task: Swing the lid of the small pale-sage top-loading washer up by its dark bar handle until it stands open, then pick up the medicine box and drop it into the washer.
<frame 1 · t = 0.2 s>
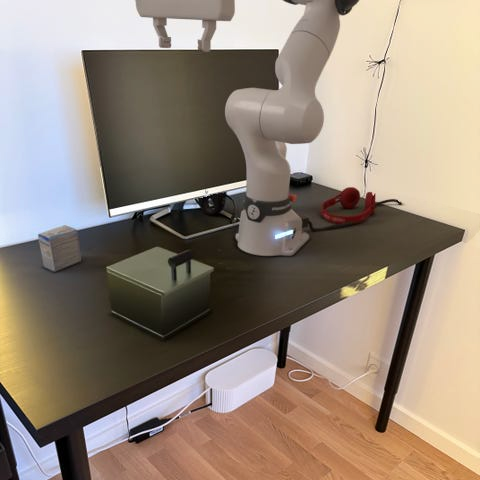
hand: (184, 49, 87), 48 cm above the table, tool pointing down, fingers open, 8 cm apart
water bottle: (269, 212, 158), on the table
headphones: (347, 215, 158), on the table
controller: (209, 214, 154), on the table
medicine box: (63, 265, 118), on the table
washer lid: (160, 258, 94), point 13 cm above the table, hinge at 0.0°
washer: (161, 313, 100), on the table
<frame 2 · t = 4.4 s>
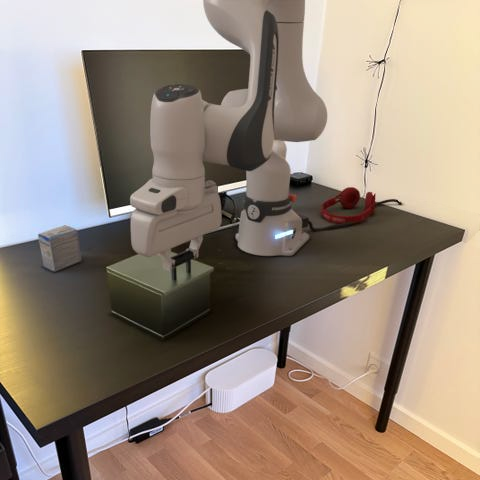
hand: (180, 263, 90), 13 cm above the table, tool pointing down, fingers closed on washer lid, 5 cm apart
washer lid: (160, 258, 94), point 13 cm above the table, hinge at 0.1°, touching gripper
everything else where it was.
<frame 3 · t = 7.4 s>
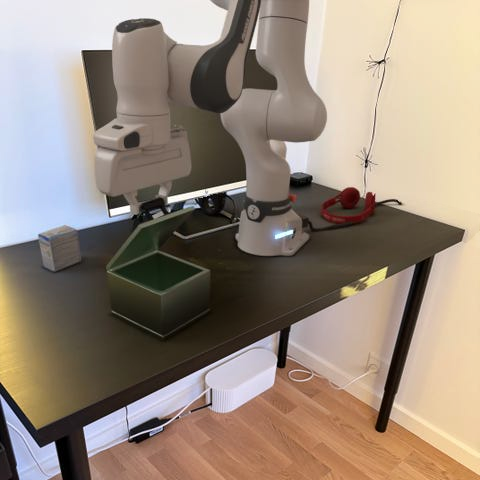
hand: (149, 209, 90), 22 cm above the table, tool pointing down, fingers closed on washer lid, 5 cm apart
washer lid: (143, 228, 93), point 18 cm above the table, hinge at 47.1°, touching gripper
everything else where it was.
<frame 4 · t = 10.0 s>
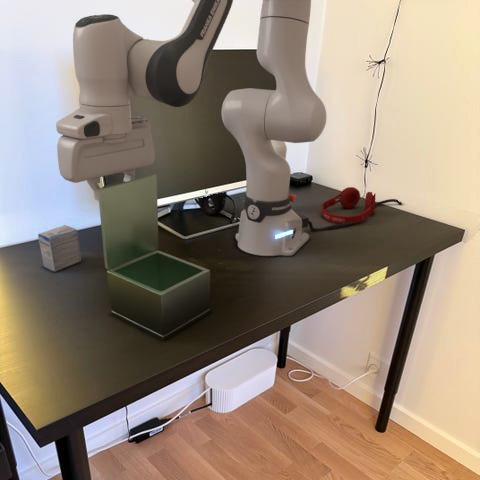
hand: (113, 196, 94), 22 cm above the table, tool pointing down, fingers closed on washer lid, 5 cm apart
washer lid: (123, 218, 95), point 18 cm above the table, hinge at 88.0°, touching gripper
everything else where it was.
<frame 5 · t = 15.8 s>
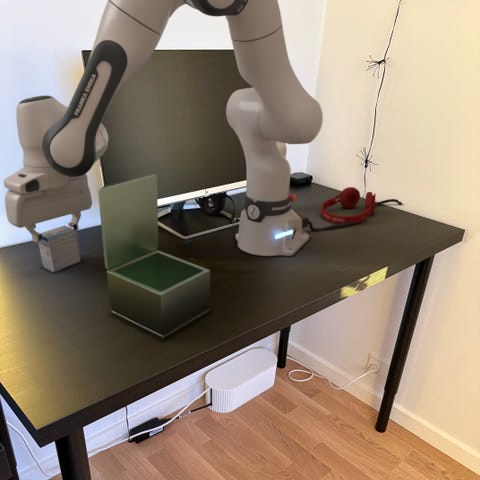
hand: (56, 235, 114), 8 cm above the table, tool pointing down, fingers open, 8 cm apart
medicine box: (62, 265, 118), on the table, touching gripper
washer lid: (123, 218, 95), point 18 cm above the table, hinge at 87.9°
everything else where it was.
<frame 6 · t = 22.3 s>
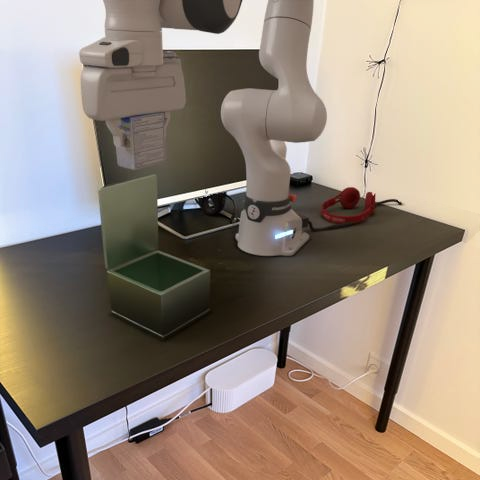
hand: (140, 142, 84), 34 cm above the table, tool pointing down, fingers closed on medicine box, 8 cm apart
medicine box: (142, 165, 87), point 30 cm above the table, touching gripper
everything else where it was.
when the fingers open (11 cm above the table, at t = 28.3 s): medicine box drops 6 cm, resting on washer.
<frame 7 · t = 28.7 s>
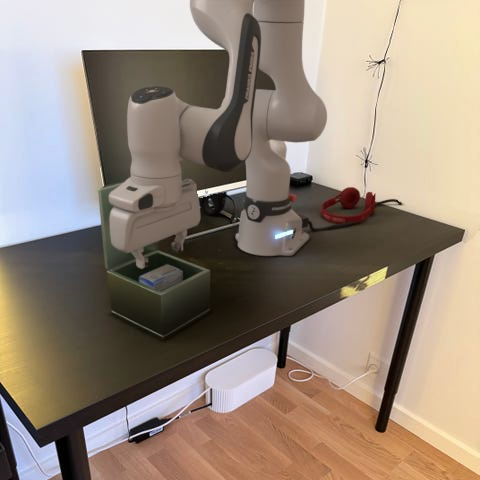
hand: (160, 258, 94), 13 cm above the table, tool pointing down, fingers open, 8 cm apart
medicine box: (162, 311, 100), point 1 cm above the table, touching washer
everything else where it was.
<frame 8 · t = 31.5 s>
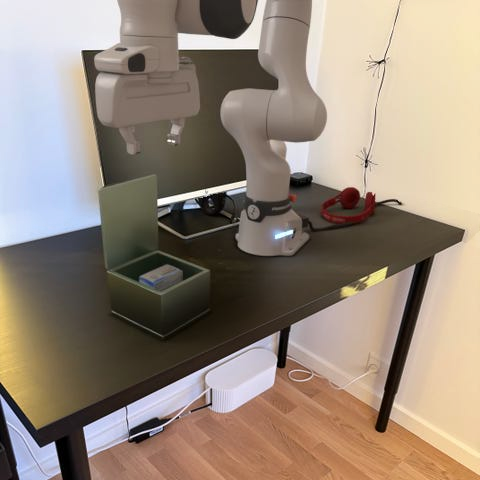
hand: (154, 149, 83), 33 cm above the table, tool pointing down, fingers open, 8 cm apart
nothing on the table moved.
at the end: washer lid at +88° (first picture: +0°); medicine box inside the target area in the washer (0.4 cm from its centre), point 0.7 cm above the washer's base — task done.
